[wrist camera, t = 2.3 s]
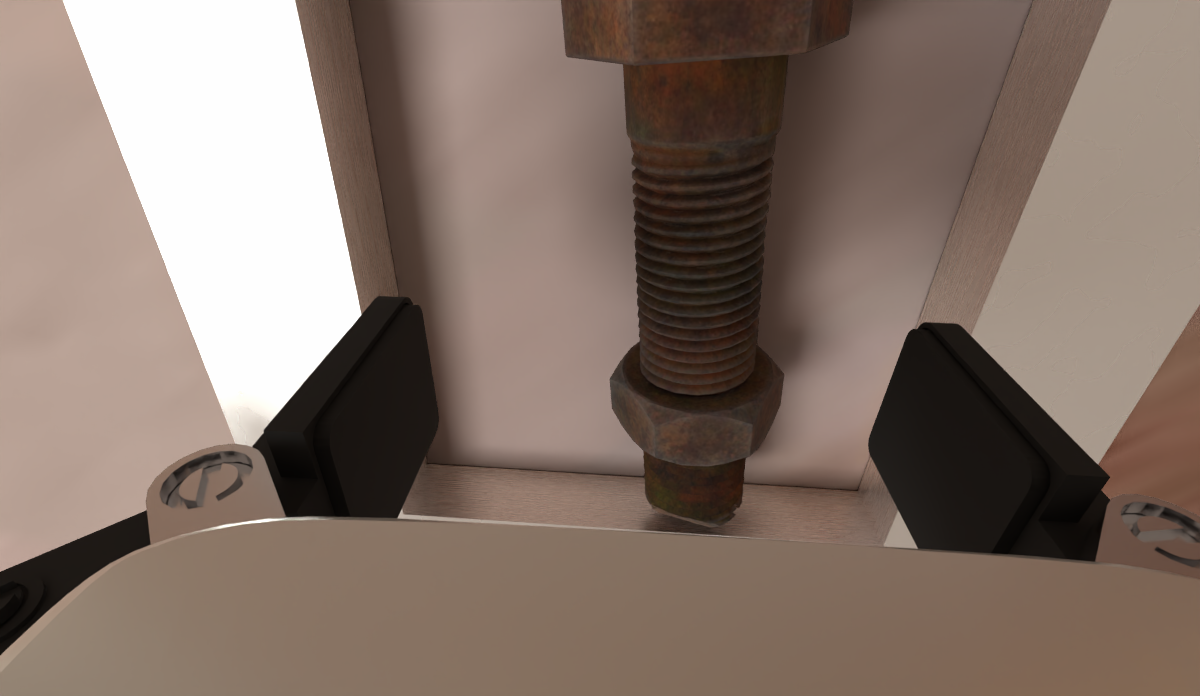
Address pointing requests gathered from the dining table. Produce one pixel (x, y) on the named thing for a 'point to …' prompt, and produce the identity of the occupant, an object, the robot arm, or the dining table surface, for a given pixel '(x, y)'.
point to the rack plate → (555, 499)
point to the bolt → (700, 226)
